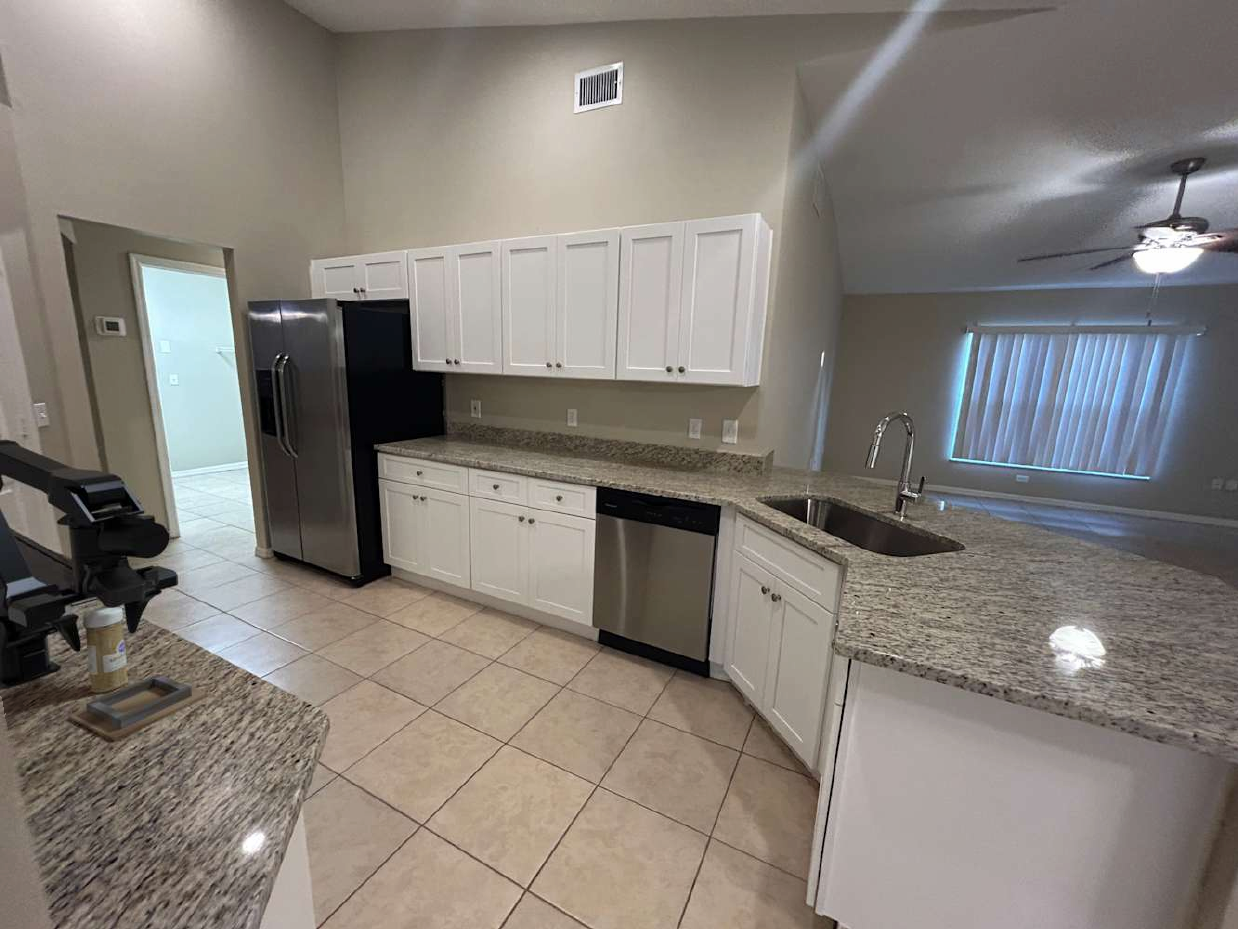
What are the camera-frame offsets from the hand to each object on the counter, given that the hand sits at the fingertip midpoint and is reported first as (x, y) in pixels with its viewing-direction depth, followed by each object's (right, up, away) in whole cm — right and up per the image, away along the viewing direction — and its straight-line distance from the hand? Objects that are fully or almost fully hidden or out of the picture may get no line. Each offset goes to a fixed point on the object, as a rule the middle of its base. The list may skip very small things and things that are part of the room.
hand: (105, 641), depth 82 cm
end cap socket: (+9, -9, -4) cm, 14 cm away
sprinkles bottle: (0, -8, +1) cm, 8 cm away
